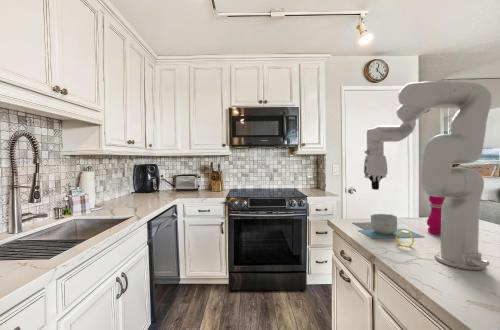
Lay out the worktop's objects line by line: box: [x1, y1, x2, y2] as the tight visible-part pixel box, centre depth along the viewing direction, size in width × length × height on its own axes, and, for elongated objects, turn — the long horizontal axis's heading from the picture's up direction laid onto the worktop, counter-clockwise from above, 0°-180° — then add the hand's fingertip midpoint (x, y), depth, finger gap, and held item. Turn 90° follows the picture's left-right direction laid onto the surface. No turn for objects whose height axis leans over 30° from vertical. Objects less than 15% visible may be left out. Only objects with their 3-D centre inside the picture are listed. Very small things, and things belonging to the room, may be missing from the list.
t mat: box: [352, 221, 425, 240], centre depth 119 cm, size 25×24×1 cm
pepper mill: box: [426, 195, 445, 236], centre depth 113 cm, size 7×7×20 cm
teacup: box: [370, 213, 398, 235], centre depth 114 cm, size 14×11×8 cm
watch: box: [395, 230, 415, 248], centre depth 97 cm, size 6×3×6 cm, turn 52°
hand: (375, 189), depth 123 cm, fingers closed
